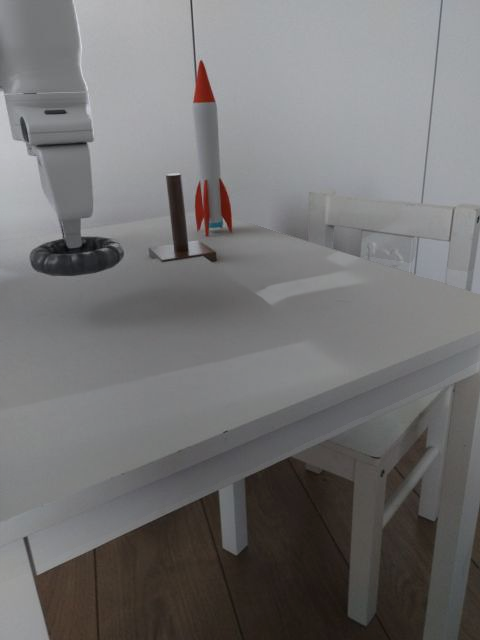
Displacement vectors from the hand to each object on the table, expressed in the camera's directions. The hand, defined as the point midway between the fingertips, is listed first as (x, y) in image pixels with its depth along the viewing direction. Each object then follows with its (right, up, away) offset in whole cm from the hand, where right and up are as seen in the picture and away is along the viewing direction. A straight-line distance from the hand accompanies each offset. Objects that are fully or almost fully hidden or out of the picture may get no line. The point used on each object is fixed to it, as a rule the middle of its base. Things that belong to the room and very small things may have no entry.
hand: (72, 243), depth 70 cm
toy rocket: (+14, +10, +42) cm, 45 cm away
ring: (+2, -2, -3) cm, 4 cm away
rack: (+10, +2, +25) cm, 27 cm away
